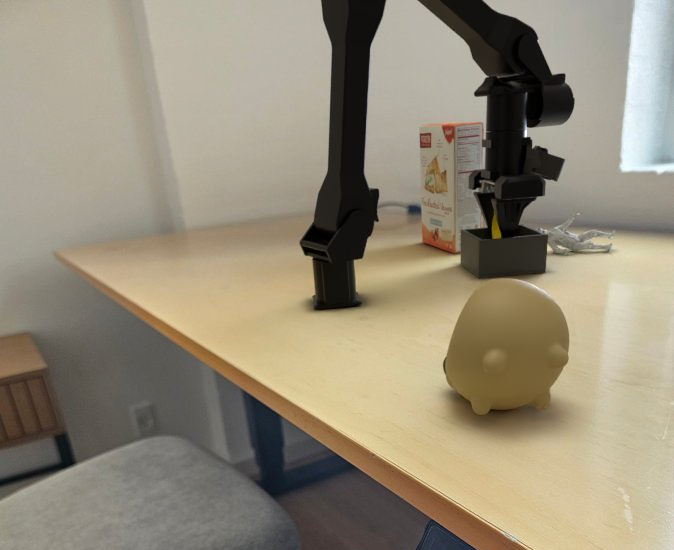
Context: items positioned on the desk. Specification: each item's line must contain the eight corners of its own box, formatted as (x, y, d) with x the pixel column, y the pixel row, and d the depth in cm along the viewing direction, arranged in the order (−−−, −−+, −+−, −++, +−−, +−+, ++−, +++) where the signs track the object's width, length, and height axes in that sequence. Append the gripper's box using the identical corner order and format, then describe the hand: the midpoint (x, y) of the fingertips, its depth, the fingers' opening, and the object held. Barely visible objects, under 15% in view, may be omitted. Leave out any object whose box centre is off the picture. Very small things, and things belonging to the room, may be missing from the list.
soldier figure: (608, 261, 106) (536, 240, 107) (597, 276, 111) (528, 256, 112) (619, 221, 108) (548, 200, 109) (608, 238, 113) (540, 218, 114)
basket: (545, 272, 98) (548, 234, 96) (478, 278, 98) (479, 240, 96) (521, 258, 108) (523, 224, 106) (460, 264, 108) (460, 229, 106)
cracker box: (420, 243, 128) (417, 124, 119) (448, 239, 129) (448, 121, 120) (452, 254, 116) (452, 122, 107) (482, 250, 117) (485, 119, 108)
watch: (486, 246, 104) (487, 207, 102) (503, 245, 105) (505, 205, 102) (499, 253, 99) (501, 211, 96) (517, 251, 99) (519, 210, 97)
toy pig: (547, 433, 58) (521, 331, 62) (605, 367, 47) (569, 248, 51) (439, 443, 58) (420, 338, 61) (472, 378, 46) (446, 256, 50)
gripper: (587, 126, 86) (577, 247, 93) (538, 126, 103) (532, 229, 110) (504, 132, 86) (500, 254, 93) (468, 131, 103) (466, 235, 110)
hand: (501, 242), depth 101 cm, fingers closed on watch, 6 cm apart
